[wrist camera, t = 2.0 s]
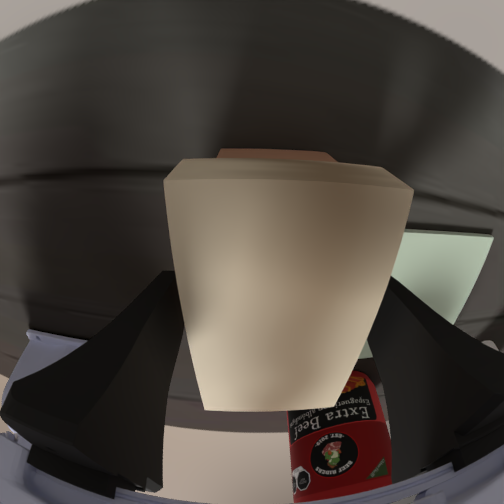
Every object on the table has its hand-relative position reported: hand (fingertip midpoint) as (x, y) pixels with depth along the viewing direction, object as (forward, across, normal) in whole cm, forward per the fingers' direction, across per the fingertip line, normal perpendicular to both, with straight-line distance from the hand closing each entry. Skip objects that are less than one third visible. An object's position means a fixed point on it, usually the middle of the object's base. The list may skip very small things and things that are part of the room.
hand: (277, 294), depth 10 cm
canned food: (+4, -6, +14) cm, 16 cm away
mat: (+4, -9, +4) cm, 11 cm away
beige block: (0, 0, 0) cm, 0 cm away
